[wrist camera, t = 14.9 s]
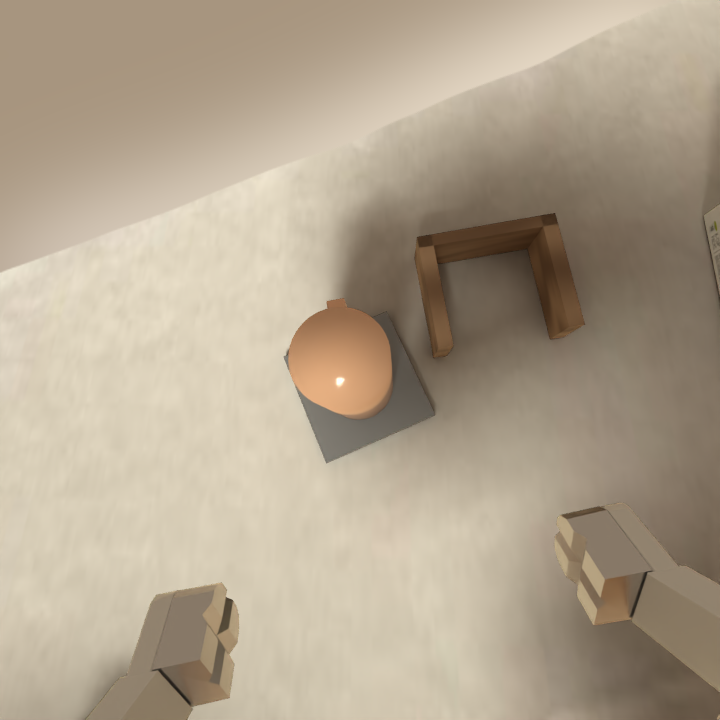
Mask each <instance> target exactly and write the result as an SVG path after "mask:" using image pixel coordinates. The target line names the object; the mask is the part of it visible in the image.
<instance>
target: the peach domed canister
mask: <svg viewBox="0 0 720 720" xmlns="http://www.w3.org/2000/svg"><path fill="white" fill-rule="evenodd" d="M327 308H328V309H325V310H323V311H320V312H318V313H316V314H314V315H312V316H311V317H310V318H308V319H307V320H306V321H305V322H304V323H303V324H302V325H301V326H300V327H299V328H298V330H297V332H296V333H295V335H294V337H293V339H292V342H291V344H290V348H289V355H288V364H289V370H290V374H291V377H292V379H293V381H294V383H295V385H296V386H297V388H298V389H299V391H300V392H301V393H302V394H303V395H304V396H305V397H307V398H308V399H309V400H311V401H312V402H314V403H316V404H318V405H320V406H322V407H325V408H327V409H329V410H331V411H333V412H335V413H337V414H339V415H341V416H343V417H345V418H349V419H353V420H363V419H368V418H371V417H373V416H375V415H377V414H378V413H380V412H381V411H382V410H383V409H384V408H385V407H386V405H387V404H388V402H389V401H390V398H391V396H392V392H393V374H392V361H391V350H390V345H389V341H388V338H387V336H386V334H385V332H384V330H383V329H382V327H381V326H380V325H379V324H378V323H377V322H376V321H375V320H374V319H373V318H372V317H371V316H369V315H368V314H366V313H364V312H362V311H359V310H357V309H353V308H347V305H346V302H345V300H344V298H342V299H336V300H331V301H327Z"/></svg>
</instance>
